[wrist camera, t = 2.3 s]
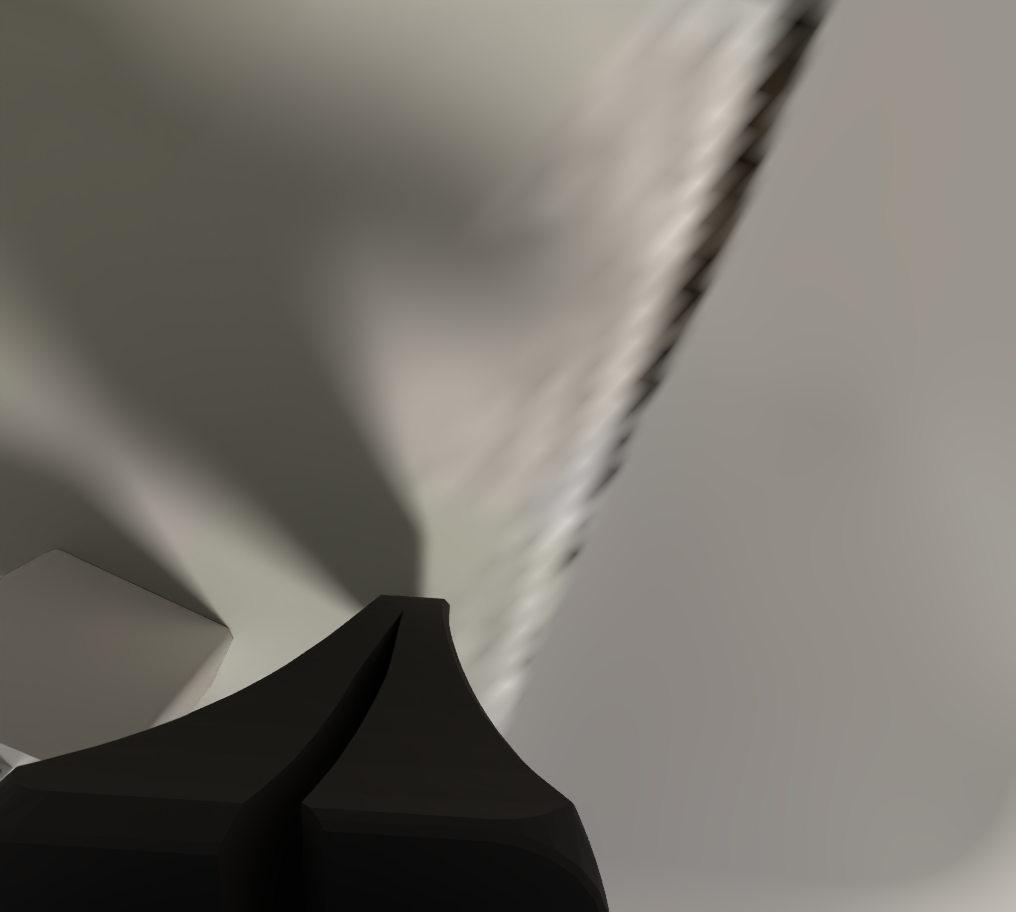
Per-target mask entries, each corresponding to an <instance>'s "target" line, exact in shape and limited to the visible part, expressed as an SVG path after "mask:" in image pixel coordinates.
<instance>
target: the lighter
mask: <svg viewBox="0 0 1016 912" xmlns="http://www.w3.org/2000/svg"><path fill="white" fill-rule="evenodd" d="M232 639H233V637H232V635H231V632H230V630H229V628H227V627H225V626H223V625H221V624H218V623H216V622H214V621H212V620H210V619H208V618H205V617H203V616H201V615H199V614H197V613H195V612H192V611H190V610H188V609H186V608H184V607H182V606H180V605H177V604H175V603H173V602H171V601H169V600H167V599H164V598H162V597H160V596H158V595H156V594H154V593H152V592H149V591H147V590H145V589H143V588H141V587H139V586H136V585H134V584H132V583H130V582H128V581H126V580H124V579H121V578H119V577H117V576H115V575H113V574H111V573H108V572H106V571H104V570H102V569H100V568H98V567H95V566H93V565H91V564H89V563H87V562H85V561H83V560H80V559H78V558H76V557H74V556H72V555H70V554H67V553H65V552H63V551H61V550H59V549H55V550H52V551H49V552H46V553H44V554H42V555H41V556H39V557H37V558H35V559H33V560H31V561H30V562H28V563H26V564H24V565H22V566H21V567H19V568H17V569H15V570H13V571H11V572H10V573H8V574H6V575H4V576H2V577H1V578H0V781H1V780H2V779H3V778H4V777H5V776H6V775H8V774H9V773H10V772H11V771H12V770H13V769H14V768H15V767H17V766H20V765H25V764H29V763H33V762H37V761H41V760H45V759H49V758H53V757H56V756H60V755H64V754H68V753H71V752H75V751H79V750H83V749H86V748H90V747H94V746H98V745H101V744H104V743H108V742H111V741H114V740H117V739H120V738H123V737H126V736H129V735H132V734H135V733H138V732H141V731H144V730H147V729H150V728H153V727H156V726H158V725H161V724H164V723H166V722H169V721H172V720H175V719H177V718H180V717H182V716H185V715H187V714H189V713H190V712H191V711H192V710H193V708H194V707H195V706H196V705H197V703H198V702H199V701H200V700H201V698H202V697H203V696H204V694H205V693H206V692H207V691H208V689H209V688H210V686H211V684H212V682H213V680H214V678H215V676H216V673H217V671H218V669H219V667H220V665H221V663H222V661H223V659H224V656H225V654H226V652H227V650H228V648H229V646H230V644H231V642H232Z"/></svg>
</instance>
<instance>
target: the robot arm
mask: <svg viewBox="0 0 1016 912" xmlns="http://www.w3.org/2000/svg"><path fill="white" fill-rule="evenodd" d="M449 610H450V605H449V604H448V603H447V601H446V600H445V599H438V598H422V597H406V596H390V595H380V596H379V597H378V598H376V599H375V600H374V601H372V602H371V603H370V604H369V605H367V606H366V607H365V608H364V609H362V610H361V611H360V612H359V613H357V614H356V615H355V616H354V617H352V618H351V619H350V620H349V621H347V622H346V623H345V624H343V625H342V626H341V627H340V628H338V629H337V630H336V631H334V632H333V633H332V634H330V635H329V636H328V637H326V638H325V639H324V640H322V641H321V642H319V643H318V644H316V645H315V646H313V647H312V648H310V649H309V650H307V651H306V652H304V653H303V654H301V655H300V656H299V657H297V658H296V659H294V660H293V661H291V662H290V663H288V664H287V665H285V666H283V667H282V668H280V669H278V670H277V671H275V672H273V673H272V674H270V675H268V676H266V677H265V678H263V679H261V680H259V681H257V682H255V683H253V684H251V685H250V686H248V687H246V688H244V689H242V690H240V691H238V692H236V693H234V694H232V695H230V696H228V697H225V698H223V699H221V700H219V701H216V702H214V703H212V704H210V705H207V706H205V707H203V708H200V709H198V710H196V711H194V712H191V713H189V714H187V715H185V716H182V717H180V718H177V719H175V720H172V721H169V722H166V723H164V724H161V725H158V726H156V727H153V728H150V729H147V730H144V731H141V732H138V733H135V734H132V735H129V736H126V737H123V738H120V739H117V740H114V741H111V742H108V743H104V744H101V745H98V746H94V747H90V748H86V749H83V750H79V751H75V752H71V753H68V754H64V755H60V756H56V757H53V758H49V759H45V760H41V761H37V762H33V763H29V764H25V765H20V766H17V767H15V768H14V769H13V770H12V771H11V772H10V773H9V774H8V775H6V776H5V777H4V778H3V779H2V780H1V781H0V912H609V908H608V904H607V899H606V894H605V891H604V887H603V884H602V879H601V876H600V873H599V869H598V866H597V863H596V859H595V857H594V854H593V851H592V848H591V845H590V842H589V840H588V837H587V834H586V832H585V829H584V827H583V825H582V822H581V820H580V817H579V815H578V812H577V810H576V808H575V806H574V804H573V803H572V802H571V801H570V800H569V799H567V798H566V797H565V796H564V795H562V794H561V793H560V792H558V791H557V790H556V789H555V788H554V787H552V786H551V785H550V784H549V783H547V782H546V781H545V780H543V779H542V778H541V777H540V776H538V775H537V774H536V773H535V772H534V771H533V770H531V769H530V767H529V766H528V765H526V764H525V763H524V762H523V761H522V760H521V758H520V757H519V756H518V755H517V754H516V752H515V751H514V750H513V749H512V748H511V746H510V745H509V744H508V743H507V741H506V740H505V739H504V738H503V737H502V735H501V734H500V733H499V732H498V731H497V729H496V728H495V726H494V725H493V723H492V722H491V720H490V719H489V717H488V716H487V714H486V713H485V711H484V710H483V708H482V706H481V705H480V703H479V701H478V700H477V698H476V696H475V694H474V692H473V690H472V688H471V686H470V684H469V682H468V680H467V678H466V676H465V673H464V671H463V669H462V666H461V664H460V661H459V659H458V656H457V653H456V649H455V646H454V643H453V640H452V636H451V632H450V627H449Z"/></svg>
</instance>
